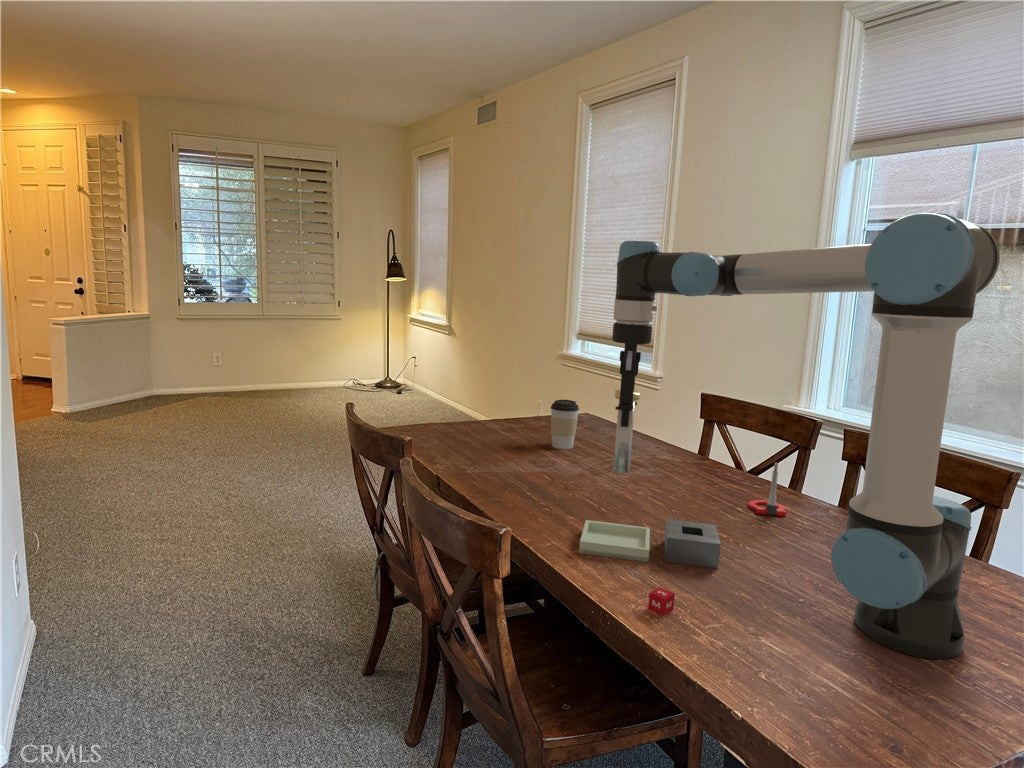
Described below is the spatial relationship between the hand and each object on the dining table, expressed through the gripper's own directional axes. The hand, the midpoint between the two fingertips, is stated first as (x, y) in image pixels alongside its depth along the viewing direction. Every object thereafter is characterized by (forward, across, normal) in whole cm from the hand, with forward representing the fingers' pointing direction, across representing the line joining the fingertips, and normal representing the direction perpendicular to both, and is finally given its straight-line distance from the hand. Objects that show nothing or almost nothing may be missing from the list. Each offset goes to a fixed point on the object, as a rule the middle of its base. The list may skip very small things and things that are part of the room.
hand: (623, 439), depth 130 cm
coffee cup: (+23, +72, +21) cm, 79 cm away
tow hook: (+23, +34, -35) cm, 53 cm away
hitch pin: (+7, 0, 0) cm, 7 cm away
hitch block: (+23, 0, -15) cm, 27 cm away
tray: (+23, 0, 0) cm, 23 cm away
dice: (+23, -24, -9) cm, 34 cm away
